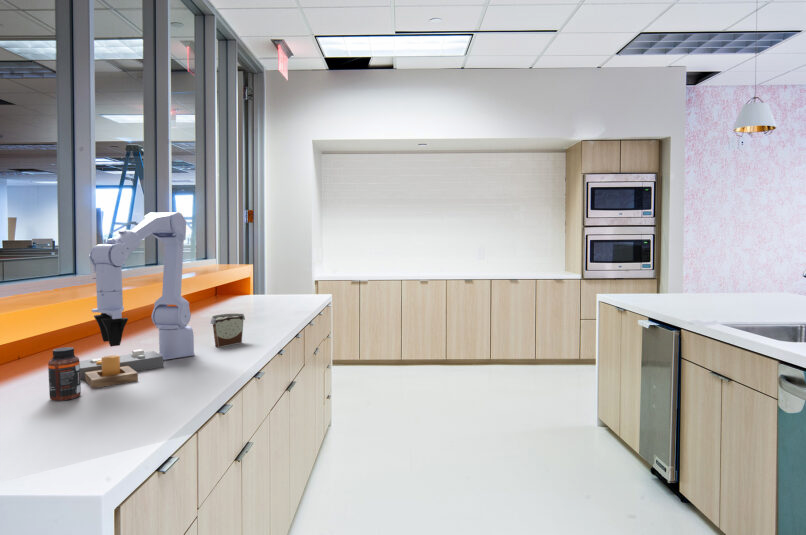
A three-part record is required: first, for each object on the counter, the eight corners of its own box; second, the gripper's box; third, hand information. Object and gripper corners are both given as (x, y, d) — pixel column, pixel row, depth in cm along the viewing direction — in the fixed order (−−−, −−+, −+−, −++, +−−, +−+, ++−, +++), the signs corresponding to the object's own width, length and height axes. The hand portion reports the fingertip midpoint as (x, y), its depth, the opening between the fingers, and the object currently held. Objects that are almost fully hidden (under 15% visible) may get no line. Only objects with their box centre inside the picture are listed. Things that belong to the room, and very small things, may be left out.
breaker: (141, 357, 144) (141, 349, 144) (144, 359, 142) (143, 350, 142) (132, 359, 142) (132, 350, 142) (134, 360, 140) (134, 351, 140)
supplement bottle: (87, 395, 116) (85, 347, 115) (62, 403, 110) (60, 352, 110) (68, 392, 118) (66, 345, 117) (43, 400, 112) (41, 350, 112)
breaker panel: (153, 360, 148) (153, 348, 148) (163, 366, 141) (162, 354, 141) (74, 373, 135) (73, 359, 135) (79, 380, 128) (79, 366, 128)
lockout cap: (118, 377, 131) (117, 354, 131) (122, 380, 128) (121, 357, 128) (100, 380, 128) (100, 357, 128) (104, 383, 125) (103, 359, 125)
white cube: (102, 367, 137) (101, 358, 137) (103, 368, 136) (103, 359, 135) (91, 368, 136) (91, 359, 136) (93, 370, 134) (93, 361, 134)
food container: (234, 340, 179) (234, 312, 178) (245, 342, 175) (244, 313, 175) (203, 346, 169) (202, 316, 168) (214, 348, 165) (213, 318, 165)
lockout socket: (128, 372, 135) (127, 365, 135) (138, 380, 128) (137, 372, 128) (84, 379, 129) (84, 372, 128) (92, 388, 121) (92, 380, 121)
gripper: (85, 289, 131) (88, 341, 131) (97, 294, 120) (99, 350, 121) (116, 287, 135) (118, 337, 136) (130, 292, 125) (132, 346, 125)
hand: (111, 343), depth 129 cm, fingers open, 7 cm apart
